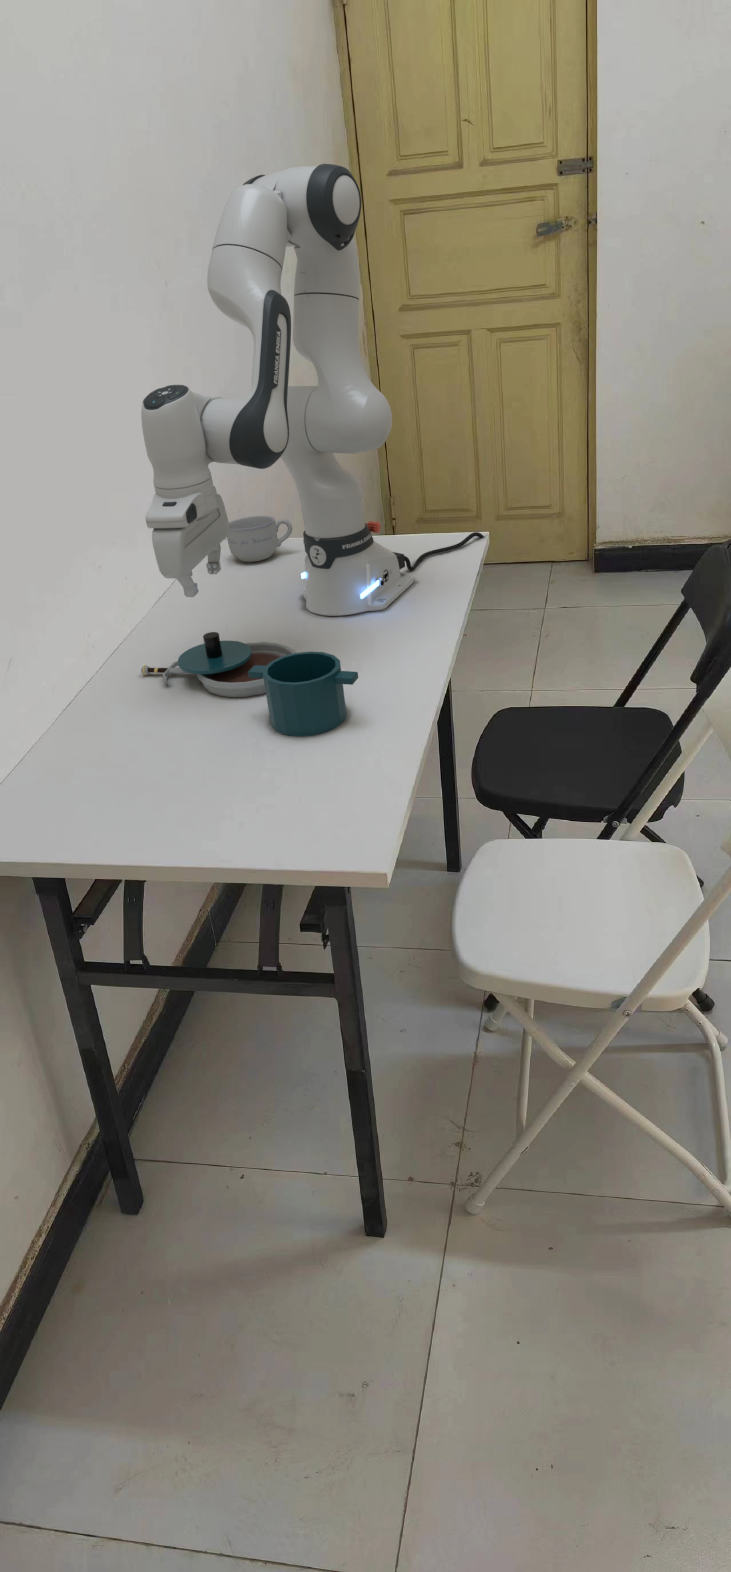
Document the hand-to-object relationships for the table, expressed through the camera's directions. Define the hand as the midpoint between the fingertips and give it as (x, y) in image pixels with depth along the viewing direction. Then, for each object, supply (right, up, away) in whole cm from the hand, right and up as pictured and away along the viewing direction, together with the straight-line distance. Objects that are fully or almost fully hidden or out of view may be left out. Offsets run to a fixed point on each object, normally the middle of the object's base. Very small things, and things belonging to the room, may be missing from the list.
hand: (203, 583), depth 178 cm
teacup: (+4, +16, +59) cm, 62 cm away
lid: (+1, -11, +6) cm, 13 cm away
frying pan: (+1, -14, +8) cm, 16 cm away
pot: (+17, -22, -10) cm, 30 cm away
